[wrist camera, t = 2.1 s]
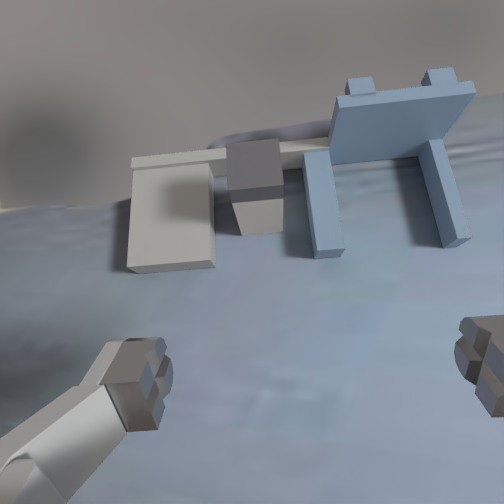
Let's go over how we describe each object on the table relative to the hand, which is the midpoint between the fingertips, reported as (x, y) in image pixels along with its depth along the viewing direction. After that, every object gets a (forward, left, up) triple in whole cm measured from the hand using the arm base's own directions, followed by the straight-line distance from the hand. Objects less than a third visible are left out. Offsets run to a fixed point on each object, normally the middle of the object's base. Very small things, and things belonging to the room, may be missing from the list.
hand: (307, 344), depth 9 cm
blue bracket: (+10, +15, -19) cm, 26 cm away
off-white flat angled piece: (-4, +14, -19) cm, 24 cm away
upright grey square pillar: (-1, +13, -19) cm, 24 cm away
